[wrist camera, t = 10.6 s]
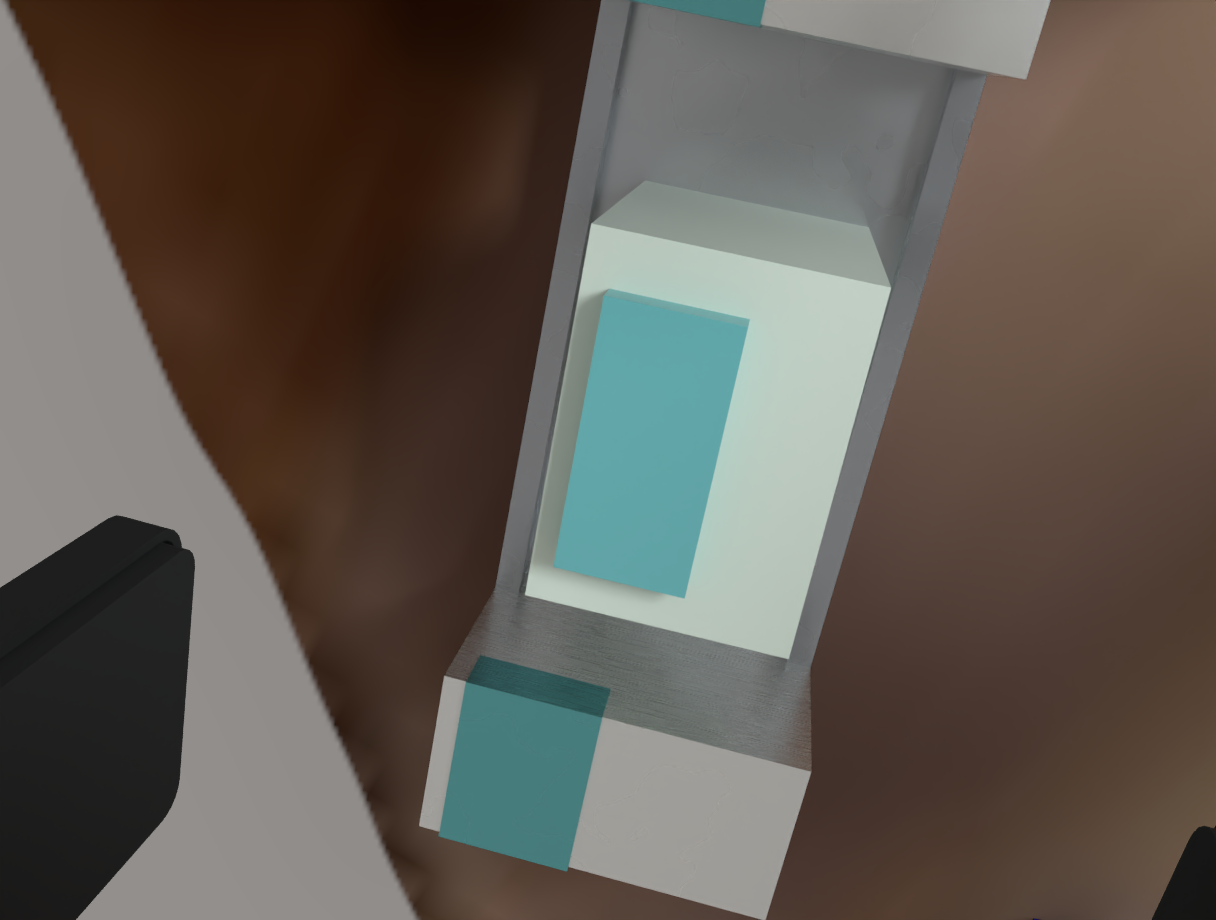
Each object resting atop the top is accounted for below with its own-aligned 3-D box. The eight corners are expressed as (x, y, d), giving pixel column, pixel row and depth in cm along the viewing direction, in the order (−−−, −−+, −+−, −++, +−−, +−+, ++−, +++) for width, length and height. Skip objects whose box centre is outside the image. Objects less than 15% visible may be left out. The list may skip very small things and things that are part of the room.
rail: (1052, -186, 23) (1133, -265, 17) (763, 795, 32) (754, 958, 26) (661, -261, 24) (616, -360, 18) (480, 721, 32) (412, 864, 27)
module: (868, 227, 25) (893, 294, 18) (792, 516, 28) (788, 675, 21) (645, 180, 26) (584, 228, 19) (589, 469, 28) (517, 609, 21)
